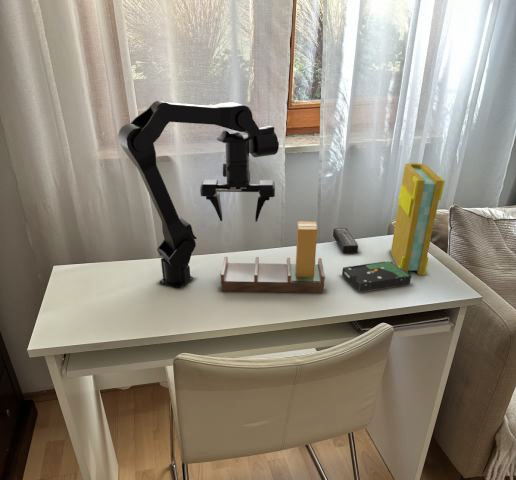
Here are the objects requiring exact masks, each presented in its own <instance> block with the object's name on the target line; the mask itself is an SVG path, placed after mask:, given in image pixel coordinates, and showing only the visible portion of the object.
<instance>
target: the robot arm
mask: <svg viewBox="0 0 516 480" xmlns="http://www.w3.org/2000/svg"><path fill="white" fill-rule="evenodd" d="M169 123H179V124H180V123H182V124H195V125H215V126H218V127H221V128H224V129H223V130H222V132H221V133H220V134H219V135H218V136H217V137H216V140H217V141H219V142H220V143H223V144H225V163H223V164H222V177H224V178H226V183H219V180H218V179H204V180H203V181H202V182H201V184H200V186H199V187H200V188H199V191H200V197H205V199H206V200H208V201H210V203H211V204H212V206H213V208H214V209H215V212H216V214H217V217H218V218H219V221H220V222H223V209H222V203H221V194H220V192H222V193H258V195H257V202H256V208H255V209H256V210H255V217H254V218H255V220H254V221H255V223H257V222H258V220H259V218H260V217H259V216H260V214H261V212H262V208H263V206H264V204H265V203H266V201H270V198H274V197H276V182H275V181H274V179H273V180H272V179H271V180H270V179H260V180H259V183H251V170H250V155H251V157H253V158H260V157H268V156H275V155H276V154H278V152H279V148H280V142H279V139H278V136H277V134H276V132H275V127H274V126H272V125H266V126H263V127H259V126H258V124H257V123H256V121H255V120H254V119H253V112H252V110H251V108H250V107H249V106H247V105H244V104H241V103H237V102H234V101H229V102H220V103H218V104H217V103H216V104H212V105H203V104H192V103H182V102H181V103H179V102H170V101H169V102H167V101H163V100H159V99H158V100H155V101H153V102H152V104H150V106H149V107H148V108H146V110H144V111H143V112H142V113H139V115H137V116H136V117H134V118H133V120H132V121H131V122H130V123H126V124H123V125H122V126H121V128H120V129H119V131H118V134H117V140H118V143H119V146H120V147H121V148H122V149H123V151H124V153H125V155H127V157H128V158H129V159H130V161H131V162H132V163H133V165H134V166H135V168H136V169H137V170H138V172H139V174H140V177H141V179H142V181H143V183H144V186H145V188H146V190H147V193H148V194H149V196H150V199H151V201H152V203H153V205H154V207H155V210H156V212H157V214H158V216H159V218H160V221H161V231H162V235H163V238H164V239H163V240H162V241H161V243H160V244H159V245H158V247H157V248H156V250H157V252H158V254H159V256H160V257H161V258H160V265H161V273H162V279H160V280H159V284H161V285H164V286H168V287H172V288H176V289H181V288H182V287H184V286H185V285H187V284H188V283H190V282H191V281H192V280H193V279H194V276H192V275H191V267H190V265H189V264H190V261H191V257H192V254H193V252H194V251H195V248H196V247H197V244H196V240H197V239H198V238H197V237H196V236H195V234H194V231H193V227H192V225H191V224H190V223H189V222H188V221H187V220H185V219H184V218H183V217H179V214H178V212H177V209H176V207H175V205H174V203H173V200H172V198H171V196H170V194H169V191H168V189H167V187H166V184H165V181H164V179H163V177H162V175H161V172H160V170H159V168H158V165H157V152H156V148H155V142H156V141H157V140H158V139H159V138H160V137H161V135H162V133H163V132H164V130H165V128H166V127H167V125H168V124H169ZM225 129H228V130H232V131H236V132H229V131H228V130H225ZM242 133H245V134H242Z"/></svg>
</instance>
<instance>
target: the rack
mask: <svg viewBox="0 0 516 480" xmlns="http://www.w3.org/2000/svg"><path fill="white" fill-rule="evenodd" d="M228 259H229V258H228V256H224V258H223V262H222V267H221V271H220V287H221V292H233V293H237V292H239V293H240V292H241V293H243V292H244V293H249V292H250V293H295V294H297V293H303V294H324V290H325V279H326V276H325V270H324V265H323V259H322V258H321V257H318V259H317V260H318V261H317V264H316V263H315V269H314V277H296V268H295V267H296V263H291V257H286V263H261V262H260V257H258V256H256V257H255V262H254V263H253V262H229V260H228Z"/></svg>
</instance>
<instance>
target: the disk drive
mask: <svg viewBox="0 0 516 480" xmlns="http://www.w3.org/2000/svg"><path fill="white" fill-rule="evenodd" d="M341 275H342V277H343V278H344V279H345V280H346V281H347V282H348V283H349V284H350V285H351V286H352V287H353V288H354V289H355V290H357V292H361V293H364V292H369V291H375V290H376V291H377V290H383V289H389V288H395V287H402V286H407V285H410V284H411V281H412V279H411V278H412V275H411V274H410V273H409V272H408V273H407V272H406V271H404V270H403V269H402V268H399V267H398V266H397V264H396V263H395V262H394V261H389V260H388V261H379V262H372V263H371V262H370V263H366V264H365V263H364V264H357V265H350V266H345V267H344V266H343V267H342V271H341Z"/></svg>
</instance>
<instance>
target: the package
mask: <svg viewBox="0 0 516 480" xmlns="http://www.w3.org/2000/svg"><path fill="white" fill-rule="evenodd" d="M296 225H297V227H296V247H295V249H296V250H295V264H296V267H295V268H296V277H314V269H315V264H316V254H317V239H318V225H317V222H316V221H297V224H296Z"/></svg>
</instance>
